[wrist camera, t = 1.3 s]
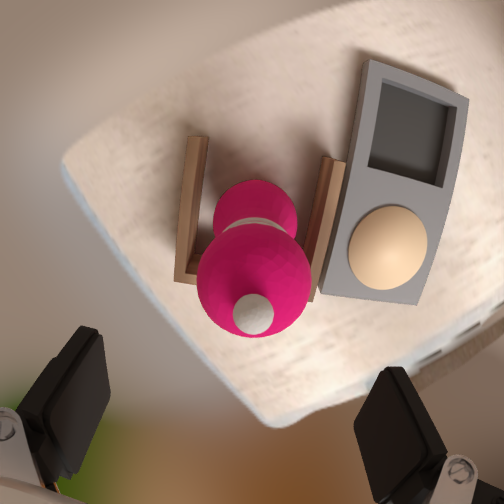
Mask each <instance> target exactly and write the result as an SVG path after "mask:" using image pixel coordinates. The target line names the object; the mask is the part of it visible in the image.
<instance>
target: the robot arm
mask: <svg viewBox="0 0 504 504" xmlns="http://www.w3.org/2000/svg"><path fill="white" fill-rule="evenodd" d="M110 393H111V392H110V386H109V379H108V373H107V366H106V359H105V351H104V343H103V337H102V335H100V334H99V333H98V330H96V329H93V328H90V327H85V326H80V327H79V328H78V329H77V330H76V332H75V333H74V334H73V336H72V337H71V338H70V340H69V341H68V342H67V343H66V345H65V346H64V347H63V349H62V350H61V352H60V353H59V354H58V356H57V357H55V358H53V359H52V360H51V361H50V362H49V363H48V365H47V366H46V368H45V369H44V370H43V372H42V373H41V374H40V376H39V377H38V378H37V380H36V381H35V383H34V384H33V386H32V387H31V388H30V390H29V391H28V393H27V394H26V396H25V397H24V398H23V400H22V402H21V403H20V404H19V406H18V407H17V409H16V411H13V410H11V409H9V408H5V407H0V504H87V503H84V502H81V501H78V500H75V499H72V498H70V497H67V496H64V495H62V494H60V493H59V490H58V487H57V485H56V483H55V482H57V480H58V478H59V476H62V477H64V478H67V479H71V477H72V475H73V473H74V474H77V473H78V471H79V469H80V467H81V465H82V462H83V460H84V457H85V455H86V452H87V450H88V448H89V445H90V443H91V440H92V438H93V436H94V434H95V431H96V429H97V426H98V424H99V422H100V420H101V418H102V415H103V413H104V411H105V409H106V406H107V404H108V402H109V399H110ZM354 432H355V435H356V438H357V442H358V445H359V448H360V452H361V456H362V459H363V462H364V466H365V470H366V473H367V477H368V480H369V484H370V488H371V492H372V495H373V499H374V501H375V502H376V503H378V504H504V491H503V490H501V489H499V488H496V487H494V486H492V485H490V484H488V483H485V482H483V481H481V480H479V479H477V478H478V471H477V467H476V466H475V464H474V463H473V462H472V461H471V460H470V459H469V458H467V457H465V456H462V455H453V456H450V457H449V458H447V456H446V454H447V452H448V451H447V449H446V447H445V445H444V443H443V441H442V439H441V437H440V435H439V433H438V431H437V429H436V427H435V426H434V423H433V422H432V420H431V418H430V416H429V414H428V412H427V410H426V408H425V406H424V405H423V402H422V401H421V399H420V397H419V395H418V393H417V391H416V389H415V388H414V386H413V384H412V382H411V380H410V379H409V377H408V375H407V373H406V371H405V370H404V368H403V367H386V368H385V369H384V371H381V372H380V373H379V375H378V377H377V379H376V381H375V383H374V385H373V387H372V389H371V391H370V393H369V395H368V397H367V399H366V401H365V402H364V404H363V406H362V408H361V410H360V412H359V414H358V415H357V417H356V419H355V421H354Z"/></svg>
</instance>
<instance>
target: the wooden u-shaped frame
mask: <svg viewBox="0 0 504 504" xmlns="http://www.w3.org/2000/svg"><path fill="white" fill-rule="evenodd" d="M208 142H209V137H203V136H188V142H187V149H186V157H185V164H184V173H183V181H182V190H181V199H180V209H179V219H178V230H177V242H176V254H175V268H174V282H180V283H186V284H192V285H197V281H196V278H197V271H198V265H199V262H200V260H201V257H202V255H201V254H195V246H196V236H197V227H198V218H199V210H200V201H201V193H202V185H203V178H204V170H205V163H206V156H207V149H208ZM345 165H346V163H345V162H342V161H339V160H336V159H333V158H329V157H324V156H322V162H321V167H320V172H319V177H318V182H317V187H316V192H315V197H314V201H313V206H312V211H311V216H310V220H309V225H308V230H307V234H306V239H305V243H304V248H303V251H304V253H305V255H306V258H307V260H308V262H309V265H310V269H311V278H312V283H311V291H310V296H309V298H308V301H307V302H313V299H314V295H315V292H316V288H317V284H318V281H319V277H320V273H321V269H322V265H323V262H324V258H325V254H326V250H327V246H328V242H329V237H330V233H331V229H332V225H333V221H334V216H335V212H336V207H337V203H338V198H339V194H340V189H341V185H342V180H343V175H344V170H345Z"/></svg>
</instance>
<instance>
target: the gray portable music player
mask: <svg viewBox="0 0 504 504" xmlns="http://www.w3.org/2000/svg"><path fill="white" fill-rule="evenodd" d="M468 106H469V99H468V98H466V97H464V96H462V95H460V94H458V93H456V92H453V91H451V90H449V89H447V88H445V87H443V86H440V85H438V84H436V83H433V82H431V81H429V80H426V79H424V78H421V77H419V76H416V75H414V74H411V73H409V72H406V71H403V70H401V69H398V68H395V67H392V66H390V65H387V64H384V63H381V62H378V61H375V60H371V59H369V60H367V61H366V62H364V63H363V69H362V76H361V83H360V89H359V96H358V102H357V108H356V114H355V120H354V125H353V131H352V136H351V142H350V147H349V152H348V157H347V162H346V167H345V172H344V177H343V182H342V187H341V191H340V196H339V200H338V205H337V209H336V214H335V218H334V222H333V227H332V231H331V235H330V239H329V243H328V247H327V251H326V255H325V259H324V263H323V267H322V271H321V275H320V279H319V282H318V288H319V290H320V293H321V294H325V295H333V296H340V297H348V298H356V299H364V300H372V301H381V302H389V303H398V304H407V305H416V306H417V304H418V301H419V299H420V296H421V294H422V291H423V288H424V286H425V283H426V280H427V277H428V275H429V272H430V269H431V266H432V263H433V260H434V257H435V254H436V251H437V248H438V245H439V241H440V238H441V235H442V232H443V228H444V225H445V221H446V217H447V214H448V210H449V206H450V202H451V198H452V194H453V190H454V186H455V181H456V177H457V172H458V168H459V163H460V157H461V152H462V147H463V141H464V135H465V128H466V121H467V114H468Z"/></svg>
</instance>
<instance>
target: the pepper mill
mask: <svg viewBox="0 0 504 504" xmlns="http://www.w3.org/2000/svg"><path fill="white" fill-rule="evenodd" d="M213 231H214V235H215V239H214V240H213V241H212V242H211V243H210V244H209V246H208V247H207V248H206V250H205V251H204V253H203V255H202V257H201V260H200V262H199V265H198V271H197V278H196V281H197V291H198V297H199V299H200V302H201V304H202V306H203V308H204V310H205V312H206V313H207V315H208V316H209V317H210V318H211V320H212V321H213V322H214V323H216V324H217V325H218V326H220V327H221V328H222V329H224V330H226V331H228V332H230V333H232V334H235V335H239V336H243V337H249V338H257V337H265V336H270V335H273V334H276V333H278V332H281V331H283V330H284V329H286V328H287V327H289V326H290V325H291V324H292V323H293V322H294V321H295V320H296V319H297V318H298V317H299V316H300V315H301V313H302V312H303V310H304V308H305V306H306V304H307V301H308V298H309V296H310V291H311V283H312V278H311V269H310V265H309V262H308V260H307V258H306V255H305V253H304V251H303V250H302V248H301V247H300V246H299V244H298V243H297V242H296V240H294V238H295V236H296V231H297V215H296V210H295V207H294V204H293V202H292V201H291V199H290V198H289V196H288V195H287V194H286V193H285V192H284V191H283V190H282V189H281V188H279V187H278V186H276V185H274V184H272V183H269V182H266V181H263V180H248V181H244V182H241V183H239V184H236V185H234V186H233V187H231V188H230V189H229V190H227V191H226V192H225V193H224V194H223V195H222V197H221V198H220V200H219V201H218V203H217V205H216V208H215V212H214V216H213Z"/></svg>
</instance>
